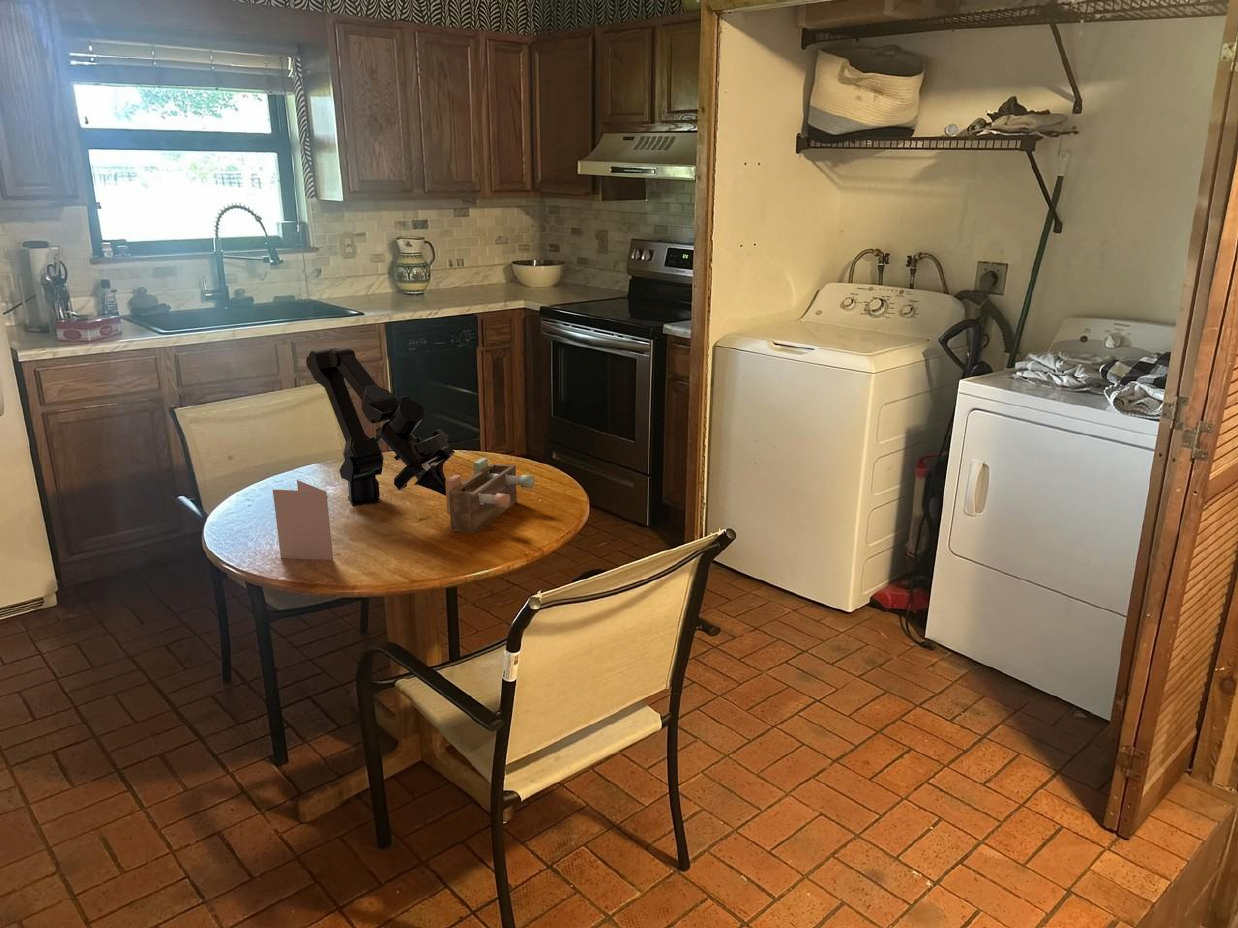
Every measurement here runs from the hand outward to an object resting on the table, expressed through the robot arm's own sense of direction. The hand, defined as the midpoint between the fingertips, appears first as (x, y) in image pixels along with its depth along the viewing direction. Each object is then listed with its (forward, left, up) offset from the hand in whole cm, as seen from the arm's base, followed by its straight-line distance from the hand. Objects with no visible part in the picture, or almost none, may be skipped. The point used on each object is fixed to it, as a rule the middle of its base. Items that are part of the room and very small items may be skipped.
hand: (449, 494), depth 208 cm
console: (+9, +2, -7) cm, 11 cm away
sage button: (+15, +5, -4) cm, 16 cm away
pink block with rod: (+5, -5, -4) cm, 8 cm away
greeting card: (-33, -5, -7) cm, 34 cm away
